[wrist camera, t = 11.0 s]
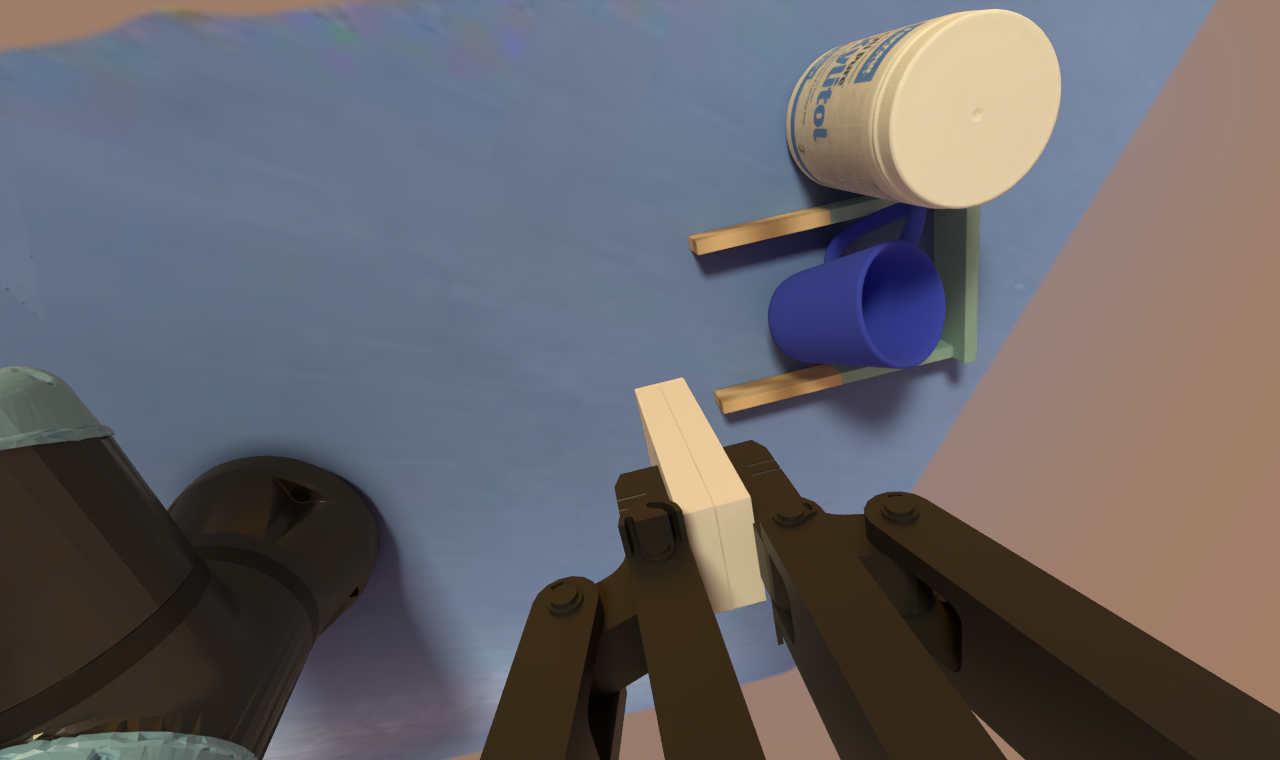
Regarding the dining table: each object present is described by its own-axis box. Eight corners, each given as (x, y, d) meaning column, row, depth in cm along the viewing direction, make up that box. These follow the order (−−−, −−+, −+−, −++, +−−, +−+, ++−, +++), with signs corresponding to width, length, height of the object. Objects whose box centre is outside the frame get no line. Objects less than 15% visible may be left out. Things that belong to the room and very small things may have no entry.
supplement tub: (800, 32, 41) (925, -23, 27) (924, 59, 42) (1099, 21, 29) (767, 180, 44) (864, 196, 31) (883, 199, 46) (1023, 224, 32)
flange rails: (715, 401, 50) (723, 414, 48) (688, 236, 45) (695, 241, 42) (829, 373, 51) (842, 384, 48) (815, 206, 45) (829, 210, 43)
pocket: (829, 373, 51) (850, 391, 47) (815, 206, 45) (839, 212, 42) (945, 344, 51) (976, 360, 48) (946, 176, 46) (980, 179, 42)
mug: (858, 253, 50) (972, 225, 41) (817, 387, 48) (928, 388, 39) (787, 203, 46) (896, 161, 38) (740, 345, 44) (843, 336, 35)
